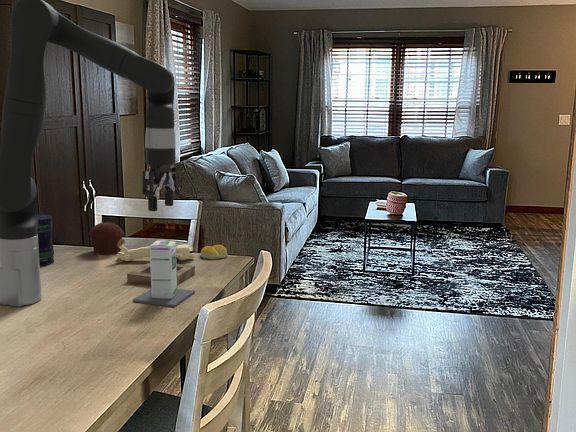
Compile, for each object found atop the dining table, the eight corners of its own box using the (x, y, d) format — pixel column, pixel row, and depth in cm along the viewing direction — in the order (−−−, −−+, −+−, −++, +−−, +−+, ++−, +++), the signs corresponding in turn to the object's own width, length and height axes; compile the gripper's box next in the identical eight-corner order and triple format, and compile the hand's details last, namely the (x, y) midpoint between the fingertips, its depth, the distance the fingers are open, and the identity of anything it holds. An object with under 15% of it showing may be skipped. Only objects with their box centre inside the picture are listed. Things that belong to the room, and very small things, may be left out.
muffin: (131, 249, 203) (130, 221, 201) (113, 257, 192) (112, 227, 190) (101, 246, 206) (100, 218, 204) (82, 253, 195) (81, 225, 193)
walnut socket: (172, 287, 163) (172, 279, 162) (127, 282, 167) (127, 273, 166) (195, 273, 176) (195, 265, 176) (152, 268, 180) (152, 261, 180)
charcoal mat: (174, 307, 148) (174, 305, 147) (133, 301, 151) (133, 299, 151) (195, 292, 159) (195, 290, 159) (156, 287, 162) (155, 285, 162)
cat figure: (117, 269, 183) (197, 261, 188) (114, 243, 181) (194, 235, 186) (120, 261, 193) (195, 253, 197) (117, 236, 191) (193, 228, 195)
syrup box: (172, 299, 152) (171, 245, 149) (150, 298, 152) (149, 244, 149) (177, 292, 157) (177, 240, 154) (156, 291, 158) (155, 239, 155)
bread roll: (197, 255, 198) (197, 243, 198) (222, 252, 202) (222, 241, 201) (204, 261, 191) (204, 249, 190) (230, 258, 195) (230, 247, 194)
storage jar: (20, 260, 186) (17, 214, 183) (53, 257, 190) (51, 213, 187) (21, 268, 177) (17, 221, 174) (55, 265, 181) (52, 218, 178)
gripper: (159, 148, 140) (160, 214, 143) (186, 145, 153) (186, 205, 156) (132, 147, 142) (133, 211, 145) (161, 143, 155) (161, 203, 158)
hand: (161, 208), depth 150 cm, fingers open, 8 cm apart
